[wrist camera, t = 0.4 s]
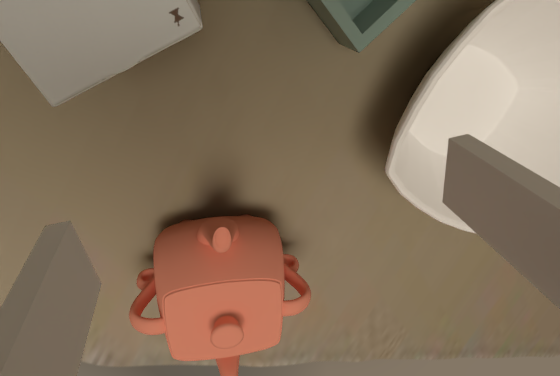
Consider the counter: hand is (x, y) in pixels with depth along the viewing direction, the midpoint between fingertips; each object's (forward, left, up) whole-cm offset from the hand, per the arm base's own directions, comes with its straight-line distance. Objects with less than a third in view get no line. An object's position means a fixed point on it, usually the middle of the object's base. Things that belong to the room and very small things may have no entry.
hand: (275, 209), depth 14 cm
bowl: (+20, +15, -25) cm, 35 cm away
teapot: (+14, -15, -25) cm, 32 cm away
